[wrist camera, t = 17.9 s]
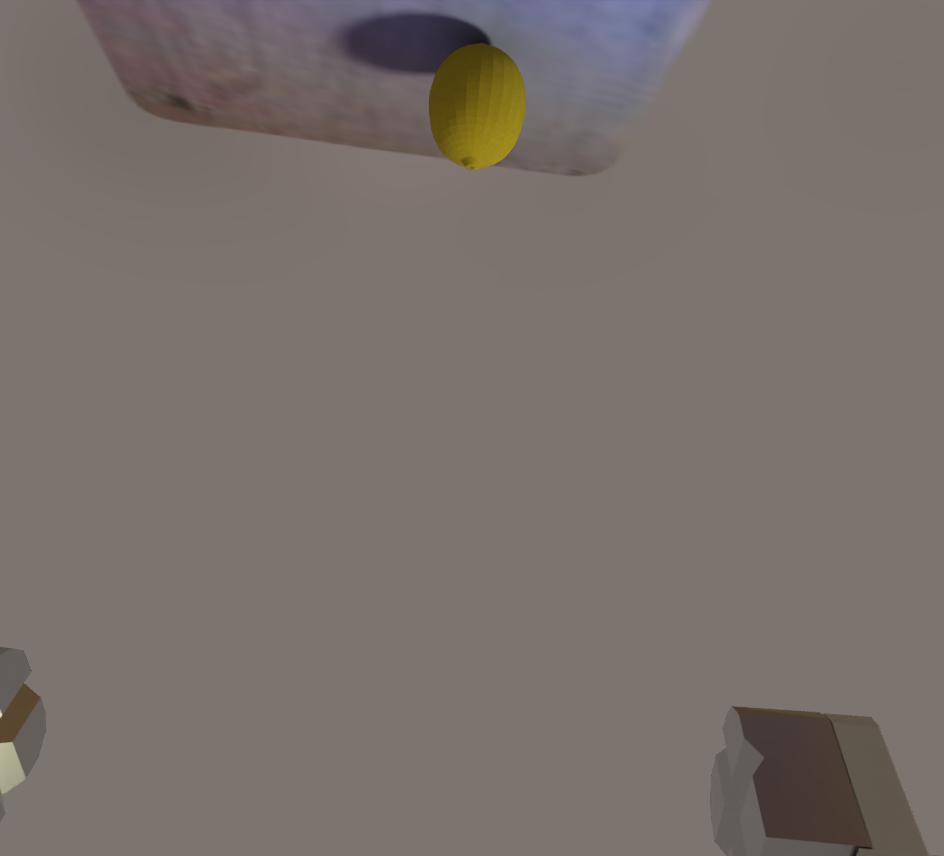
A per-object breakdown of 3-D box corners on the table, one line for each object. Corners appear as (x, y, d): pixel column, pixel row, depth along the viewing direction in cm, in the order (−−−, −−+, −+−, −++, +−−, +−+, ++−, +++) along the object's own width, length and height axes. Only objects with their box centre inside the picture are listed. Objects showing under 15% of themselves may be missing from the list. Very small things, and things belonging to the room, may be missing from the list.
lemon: (495, 85, 55) (486, 201, 53) (418, 49, 52) (405, 171, 50) (548, 38, 50) (540, 164, 49) (466, -3, 48) (454, 129, 46)
